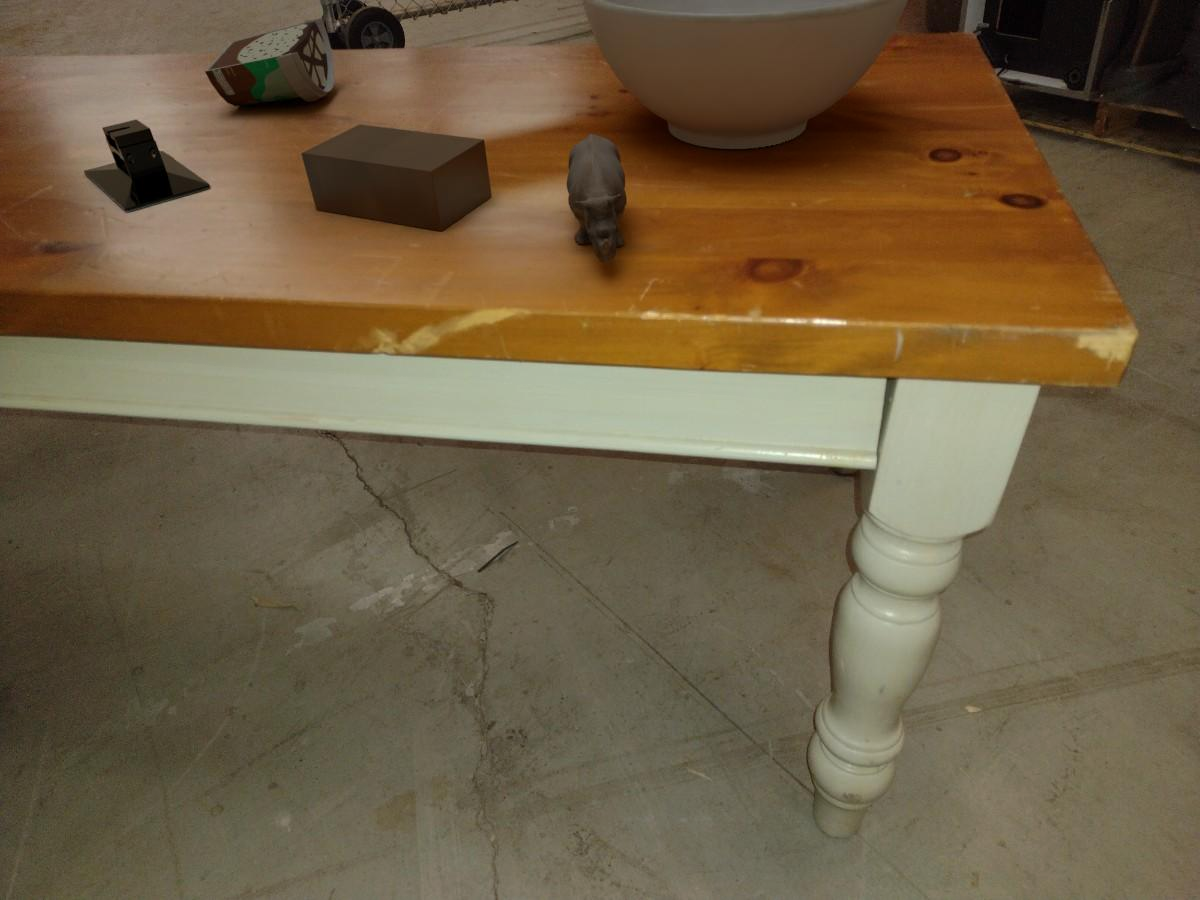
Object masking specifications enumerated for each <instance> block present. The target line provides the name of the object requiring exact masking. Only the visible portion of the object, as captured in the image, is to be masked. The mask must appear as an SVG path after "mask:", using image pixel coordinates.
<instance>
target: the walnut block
mask: <svg viewBox="0 0 1200 900" xmlns="http://www.w3.org/2000/svg"><path fill="white" fill-rule="evenodd" d="M485 142H486V141H485V139H483V138H474V137H466V136H459V135H449V134H444V133H443V134H442V133H433V132H426V131H417V130H411V129H401V128H393V127H384V126H377V125H367V124H358V125H355V126H354V127H352V128H349V129H347V130H346V131H343V132H341V133H339V134H337V135H335V136H333V137H331V138H329V139H327V140H325V141H322V142H321V143H318V144H316V145H315V146H313V147H310V148H308V149H307V150H304V151H302V152H301V153H300V154H301V158H302V162H303V166H304V169H305V173H306V177H307V180H308V184H309V187H310V192H311V195H312V199H313V203H314V206H315V210H317V211H322V212H328V213H335V214H339V215H346V216H351V217H356V218H361V219H362V218H363V219H369V220H373V221H374V220H375V221H378V222H379V221H380V222H386V223H392V224H397V225H403V226H408V227H414V228H420V229H426V230H431V231H438V232H443V231H444V230H446V229H447V228H449V227H450V226H452V225H454V223H456V222H457V221H459V220H460V219H461V218H463V217H464V216H466V215H467V214H469V213H470V212H471V211H473V210H475V209H476V208H477V207H479V206H480V205H481V204H483V203H484V202H486V201H487V200H489V199H490V198H491V197H492V196H493V195H492V188H491V182H490V173H489V167H488V165H489V164H488V158H487V152H486V151H487V150H486V143H485Z"/></svg>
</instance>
